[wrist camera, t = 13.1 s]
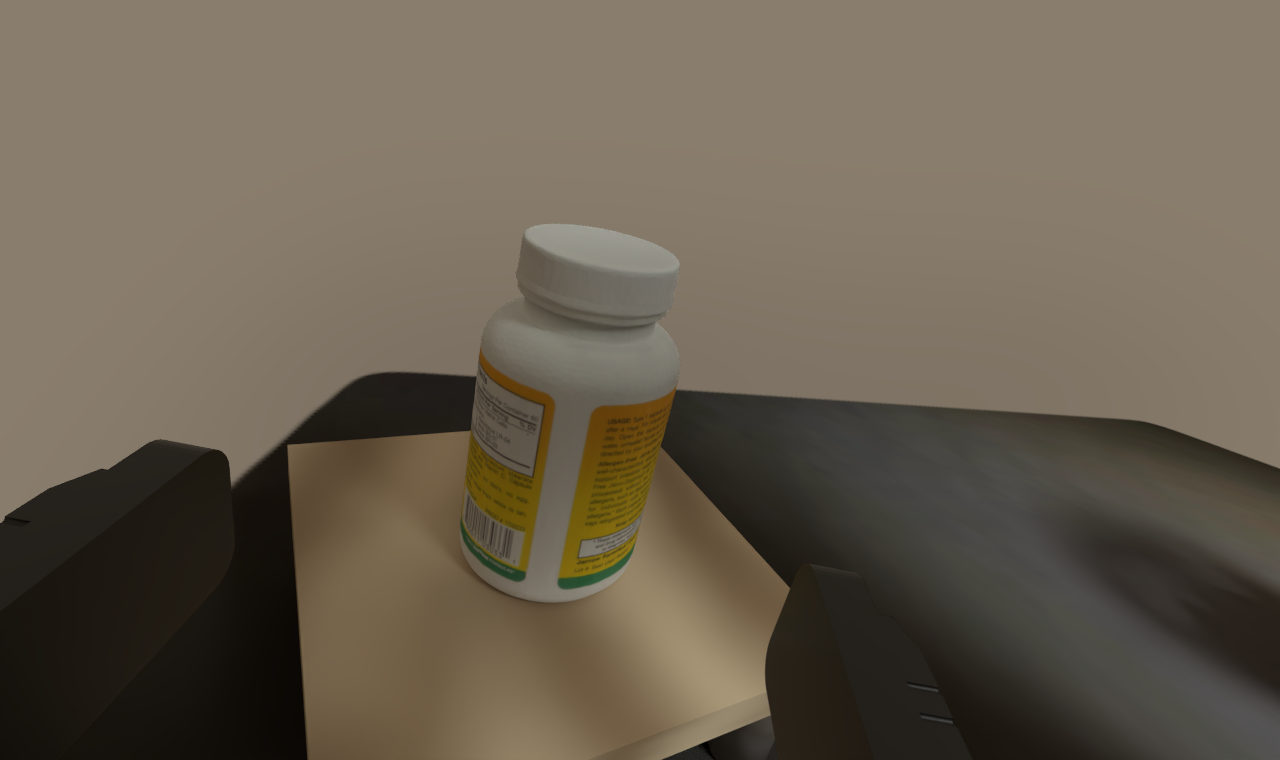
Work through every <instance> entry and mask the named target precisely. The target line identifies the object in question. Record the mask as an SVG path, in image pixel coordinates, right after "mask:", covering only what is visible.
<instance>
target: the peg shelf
mask: <svg viewBox="0 0 1280 760" xmlns="http://www.w3.org/2000/svg"><path fill="white" fill-rule="evenodd" d="M470 432H471V431H463V432H450V433H437V434H424V435H411V436H398V437H385V438H372V439H359V440H346V441H333V442H320V443H307V444H294V445H288V473H289V488H290V503H291V518H292V534H293V549H294V564H295V579H296V594H297V609H298V624H299V640H300V655H301V670H302V685H303V700H304V715H305V730H306V745H307V760H662V759H664V758H666V757H669V756H671V755H674V754H676V753H679V752H681V751H684V750H686V749H689V748H691V747H694V746H696V745H699V744H701V743H703V742H706V741H708V746H709V749H710V751H711V753H712V755H713V757H714V758H715V759H716V760H766V759H767V757H768V755H769V752H770V750H771V748H772V746H773V743H774V741H775V737H774V731H773V726H772V720H771V714H770V708H769V703H768V697H767V691H766V685H765V661H766V653H767V648H768V644H769V641H770V638H771V635H772V633H773V630H774V628H775V625H776V623H777V620H778V618H779V615H780V613H781V610H782V608H783V605H784V603H785V600H786V598H787V595H788V593H789V590H790V588H789V587H788V585H787V584H786V583H785V582H784V581H783V580H782V579H781V578H780V577H779V576H778V575H777V573H776V572H775V571H774V570H773V569H772V568H771V567H770V566H769V565H768V564H767V562H766V561H765V560H764V559H763V558H762V557H761V556H760V555H759V554H758V553H757V552H756V550H755V549H754V548H753V547H752V546H751V545H750V544H749V543H748V542H747V541H746V539H745V538H744V537H743V536H742V535H741V534H740V533H739V532H738V531H737V530H736V529H735V527H734V526H733V525H732V524H731V523H730V522H729V521H728V520H727V519H726V518H725V516H724V515H723V514H722V513H721V512H720V511H719V510H718V509H717V508H716V507H715V506H714V504H713V503H712V502H711V501H710V500H709V499H708V498H707V497H706V496H705V495H704V493H703V492H702V491H701V490H700V489H699V488H698V487H697V486H696V485H695V484H694V483H693V481H692V480H691V479H690V478H689V477H688V476H687V475H686V474H685V473H684V472H683V470H682V469H681V468H680V467H679V466H678V465H677V464H676V463H675V462H674V461H673V460H672V458H671V457H670V456H669V455H668V454H667V453H666V452H665V451H664V450H663V449H662V447H661V446H660V450H659V454H658V458H657V462H656V465H655V469H654V473H653V477H652V481H651V485H650V489H649V492H648V496H647V500H646V504H645V508H644V512H643V516H642V520H641V523H640V527H639V531H638V535H637V539H636V543H635V546H634V550H633V554H632V557H631V559H630V562H629V564H628V566H627V568H626V569H625V571H624V572H623V574H622V575H621V576H620V577H619V578H618V579H617V580H616V581H615V582H614V583H612V584H611V585H610V586H608V587H607V588H605V589H604V590H601V591H599V592H597V593H595V594H592V595H590V596H587V597H585V598H582V599H578V600H574V601H570V602H558V603H544V602H535V601H528V600H524V599H520V598H517V597H514V596H511V595H508V594H506V593H504V592H502V591H500V590H498V589H496V588H495V587H493V586H491V585H490V584H488V583H487V582H485V581H484V580H483V579H482V578H480V577H479V576H478V575H477V573H476V572H475V571H474V570H473V569H472V568H471V566H470V565H469V563H468V562H467V560H466V558H465V556H464V554H463V550H462V547H461V543H460V521H461V510H462V502H463V494H464V484H465V476H466V467H467V457H468V449H469V440H470Z"/></svg>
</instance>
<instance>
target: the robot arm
mask: <svg viewBox="0 0 1280 760" xmlns="http://www.w3.org/2000/svg"><path fill="white" fill-rule="evenodd" d="M234 548H235V532H234V519H233V506H232V493H231V480H230V468H229V462H228V459H227V457H226V455H225V454H224V453H223V452H222V451H219V450H215V449H210V448H204V447H199V446H193V445H188V444H183V443H178V442H172V441H167V440H161V439H160V440H155V441H152V442H149V443H148V444H146V445H144V446H143V447H141V448H140V449H139V450H137V451H136V452H134V453H132V454H131V455H129V456H128V457H126V458H125V459H123V460H122V461H121V462H119V463H118V464H116V465H114V466H113V467H111V468H110V469H108V470H105V469H99V470H97V471H94V472H91V473H89V474H86V475H84V476H81V477H78V478H76V479H73V480H70V481H68V482H65V483H62V484H60V485H57V486H54V487H52V488H49V489H47V490H46V491H44V492H43V493H41V494H39V495H38V496H36V497H35V498H33V499H32V500H30V501H28V502H27V503H25V504H24V505H22V506H21V507H19V508H17V509H16V510H14V511H13V512H11V513H10V514H8V515H7V516H5V519H4V521H3V522H2V523H0V760H60V759H61V758H62V757H63V756H64V755H65V754H66V752H67V751H68V750H69V749H70V748H71V747H72V746H73V745H74V744H75V743H76V741H77V740H78V739H79V738H80V737H81V736H82V735H83V734H84V733H85V732H86V731H87V729H88V728H89V727H90V726H91V725H92V724H93V723H94V722H95V721H96V720H97V718H98V717H99V716H100V715H101V714H102V713H103V712H104V711H105V710H106V709H107V707H108V706H109V705H110V704H111V703H112V702H113V701H114V700H115V699H116V698H117V696H118V695H119V694H120V693H121V692H122V691H123V690H124V689H125V688H126V687H127V685H128V684H129V683H130V682H131V681H132V680H133V679H134V678H135V677H136V676H137V674H138V673H139V672H140V671H141V670H142V669H143V668H144V667H145V666H146V665H147V664H148V662H149V661H150V660H151V659H152V658H153V657H154V656H155V655H156V654H157V653H158V651H159V650H160V649H161V648H162V647H163V646H164V645H165V644H166V643H167V642H168V640H169V639H170V638H171V637H172V636H173V635H174V634H175V633H176V632H177V631H178V629H179V628H180V627H181V626H182V625H183V624H184V623H185V622H186V621H187V620H188V618H189V617H190V616H191V615H192V614H193V613H194V612H195V611H196V610H197V609H198V607H199V606H200V605H201V604H202V603H203V602H204V601H205V600H206V599H207V598H208V597H209V595H210V594H211V593H212V592H213V591H214V590H215V589H216V588H217V586H218V585H219V584H220V582H221V581H222V579H223V578H224V576H225V574H226V572H227V570H228V568H229V566H230V563H231V560H232V557H233V553H234ZM765 685H766V691H767V697H768V703H769V708H770V714H771V720H772V726H773V731H774V737H775V743H776V748H777V754H778V760H973V759H972V757H971V755H970V753H969V751H968V748H967V746H966V744H965V742H964V740H963V738H962V736H961V734H960V731H959V729H958V727H955V726H953V717H952V714H951V712H950V710H949V708H948V706H947V704H946V702H945V700H944V697H943V695H941V694H939V693H938V688H939V687H938V685H937V682H936V680H935V678H934V676H933V674H932V672H931V670H930V668H929V665H928V663H927V661H926V659H925V657H924V655H923V653H922V651H921V649H920V648H919V647H918V646H917V645H916V644H915V643H914V641H913V640H912V639H911V638H910V637H909V636H908V634H907V633H906V632H905V631H904V630H903V629H902V628H901V626H900V625H899V624H898V623H897V622H896V621H895V620H894V618H893V617H887V616H882V615H878V613H877V610H876V608H875V606H874V603H873V601H872V598H871V596H870V594H869V591H868V589H867V586H866V584H865V582H864V580H863V578H862V577H861V575H860V574H858V573H856V572H851V571H846V570H840V569H835V568H830V567H825V566H819V565H814V564H809V563H804V564H803V565H801V567H800V568H799V569H798V571H797V573H796V575H795V578H794V580H793V583H792V585H791V588H790V590H789V593H788V595H787V598H786V600H785V603H784V605H783V608H782V610H781V613H780V615H779V618H778V620H777V623H776V625H775V628H774V630H773V633H772V635H771V638H770V641H769V644H768V648H767V653H766V661H765Z"/></svg>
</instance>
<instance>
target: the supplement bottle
mask: <svg viewBox="0 0 1280 760" xmlns="http://www.w3.org/2000/svg"><path fill="white" fill-rule="evenodd" d="M679 268H680V265H679V261H678V259H677V258H676V257H675V256H674V255H673V254H672V253H670V252H669V251H667V250H666V249H664V248H662V247H660V246H658V245H656V244H654V243H651V242H649V241H646V240H643V239H640V238H637V237H634V236H630V235H627V234H623V233H619V232H615V231H611V230H607V229H600V228H595V227H588V226H580V225H570V224H543V225H537V226H533V227H531V228H528V229H527V230H526V231H525V232H524V234H523V238H522V245H521V251H520V258H519V263H518V268H517V271H516V277H517V280H518V288H519V290H520V291H521V293H522V294H523V295H524V296H525V297H522V298H519V299H516V300H513V301H511V302H509V303H507V304H506V305H504V306H502V307H501V308H500V309H498V310H497V311H496V312H495V313H494V314H493V315H492V316H491V318H490V319H489V320H488V322H487V324H486V326H485V328H484V331H483V334H482V339H481V346H480V355H479V362H478V371H477V379H476V388H475V397H474V406H473V415H472V424H471V432H470V440H469V449H468V457H467V467H466V476H465V484H464V494H463V502H462V510H461V521H460V543H461V547H462V550H463V554H464V556H465V558H466V560H467V562H468V563H469V565H470V566H471V568H472V569H473V570H474V571H475V572H476V573H477V575H478V576H479V577H480V578H482V579H483V580H484V581H485V582H487V583H488V584H490V585H491V586H493V587H495V588H496V589H498V590H500V591H502V592H504V593H506V594H508V595H511V596H514V597H517V598H520V599H524V600H528V601H535V602H544V603H558V602H570V601H574V600H578V599H582V598H585V597H587V596H590V595H592V594H595V593H597V592H599V591H601V590H604V589H605V588H607V587H608V586H610V585H611V584H612V583H614V582H615V581H616V580H617V579H618V578H619V577H620V576H621V575H622V574H623V572H624V571H625V569H626V568H627V566H628V564H629V562H630V559H631V557H632V554H633V550H634V546H635V543H636V539H637V535H638V531H639V527H640V523H641V520H642V516H643V512H644V508H645V504H646V500H647V496H648V492H649V489H650V485H651V481H652V477H653V473H654V469H655V465H656V462H657V458H658V454H659V450H660V446H661V443H662V439H663V435H664V432H665V428H666V424H667V421H668V417H669V413H670V409H671V406H672V402H673V398H674V394H675V390H676V386H677V383H678V378H679V373H680V358H679V354H678V350H677V348H676V345H675V343H674V342H673V340H672V339H671V337H670V336H669V334H668V333H667V332H666V331H665V330H664V329H663V328H662V327H661V326H660V325H659V324H657V323H656V321H658V320H660V319H662V318H663V317H664V316H665V315H666V312H667V311H668V310H669V309H670V308H671V307H672V304H673V298H674V292H675V288H676V283H677V278H678V274H679Z"/></svg>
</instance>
